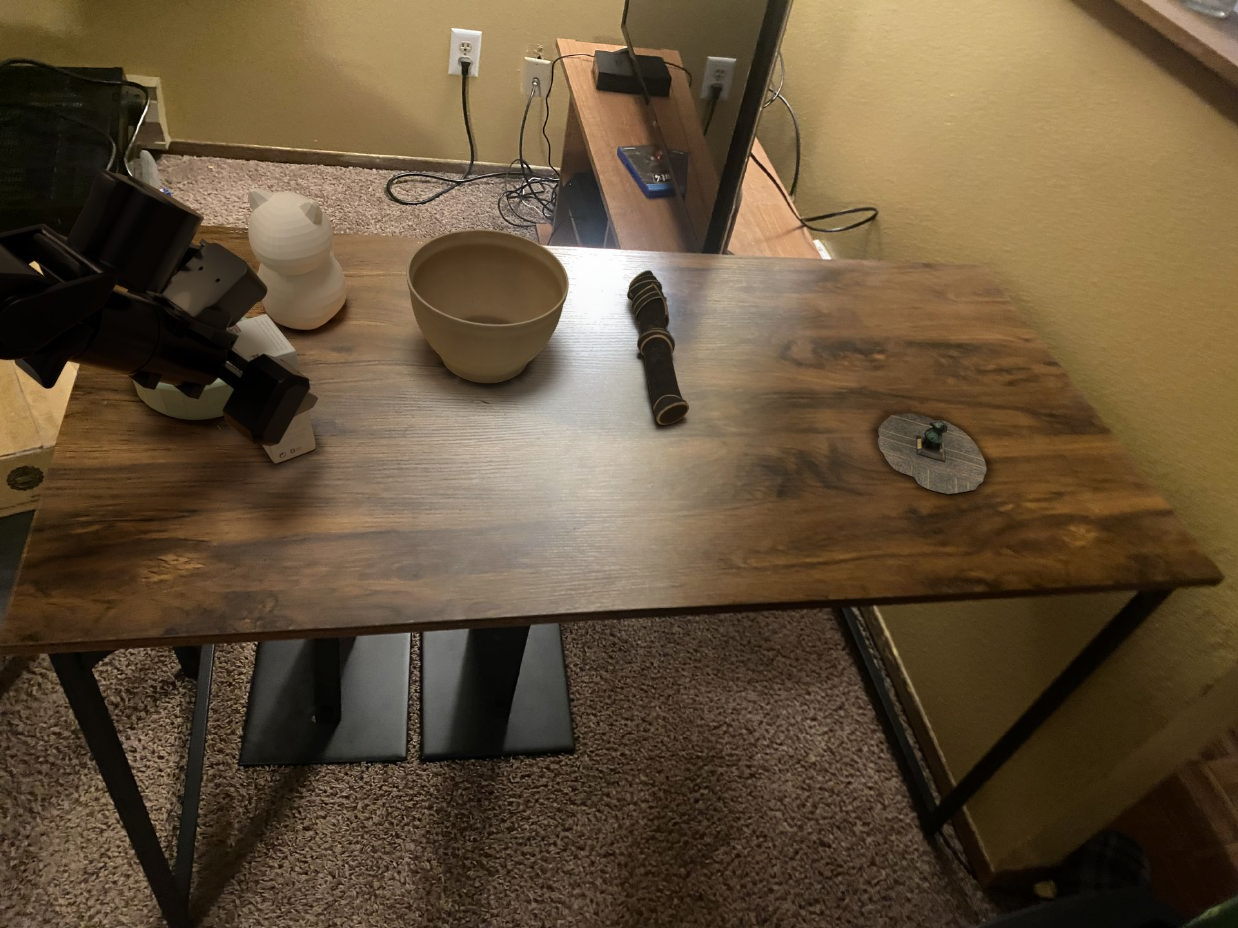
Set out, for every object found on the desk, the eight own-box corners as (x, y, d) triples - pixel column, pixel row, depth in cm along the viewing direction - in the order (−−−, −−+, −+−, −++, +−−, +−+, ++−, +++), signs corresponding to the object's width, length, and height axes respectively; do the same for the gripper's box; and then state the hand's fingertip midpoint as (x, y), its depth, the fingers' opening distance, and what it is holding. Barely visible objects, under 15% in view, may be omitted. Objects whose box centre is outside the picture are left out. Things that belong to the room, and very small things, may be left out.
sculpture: (857, 421, 94) (916, 375, 91) (891, 453, 100) (946, 410, 98) (914, 497, 86) (980, 449, 83) (946, 526, 92) (1009, 482, 90)
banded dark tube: (698, 409, 86) (670, 266, 102) (651, 398, 84) (630, 255, 101) (681, 436, 89) (657, 293, 105) (636, 426, 87) (618, 283, 104)
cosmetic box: (318, 449, 79) (302, 350, 70) (272, 467, 77) (249, 367, 68) (289, 409, 82) (270, 310, 73) (244, 426, 80) (218, 325, 71)
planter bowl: (406, 405, 85) (402, 320, 77) (413, 308, 95) (410, 224, 87) (564, 409, 88) (575, 327, 80) (553, 314, 98) (562, 234, 90)
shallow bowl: (129, 426, 77) (117, 395, 75) (143, 342, 85) (132, 311, 82) (270, 417, 81) (264, 386, 78) (271, 336, 89) (265, 306, 86)
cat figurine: (245, 333, 88) (217, 206, 77) (291, 268, 97) (272, 145, 86) (329, 349, 88) (312, 225, 78) (368, 283, 97) (358, 162, 86)
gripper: (269, 295, 56) (398, 348, 71) (102, 183, 62) (253, 253, 77) (191, 436, 57) (334, 459, 72) (34, 313, 63) (196, 357, 78)
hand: (279, 377), depth 75 cm, fingers open, 9 cm apart
